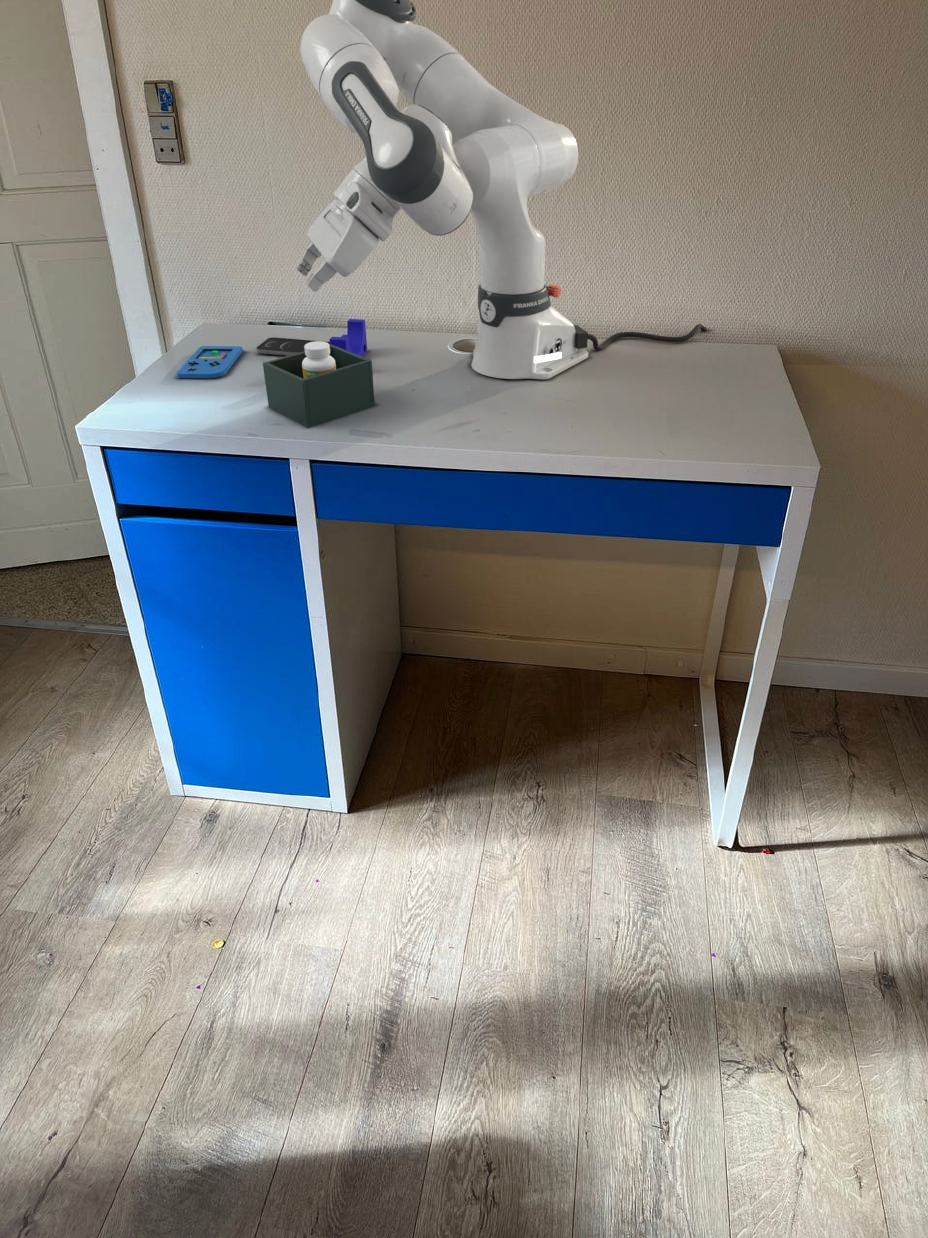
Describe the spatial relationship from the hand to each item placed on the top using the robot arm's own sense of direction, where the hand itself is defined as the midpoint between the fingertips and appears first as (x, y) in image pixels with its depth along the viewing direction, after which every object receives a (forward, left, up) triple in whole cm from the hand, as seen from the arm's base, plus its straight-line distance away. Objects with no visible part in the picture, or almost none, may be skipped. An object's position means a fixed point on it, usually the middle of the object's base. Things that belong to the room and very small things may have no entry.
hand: (305, 279), depth 142 cm
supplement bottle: (-1, 0, -20) cm, 20 cm away
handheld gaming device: (+2, -31, -21) cm, 37 cm away
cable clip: (-17, -15, -21) cm, 30 cm away
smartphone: (-14, -26, -21) cm, 36 cm away
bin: (-1, 0, -20) cm, 21 cm away
